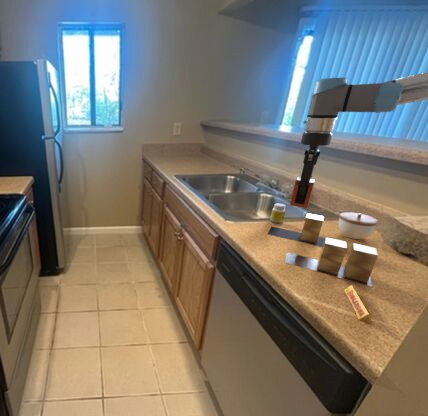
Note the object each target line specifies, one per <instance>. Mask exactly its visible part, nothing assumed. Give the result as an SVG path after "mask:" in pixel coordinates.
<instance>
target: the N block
mask: <svg viewBox="0 0 428 416" xmlns="http://www.w3.org/2000/svg"><path fill="white" fill-rule="evenodd" d="M378 257H379V254H378V250H377V248H376V247H374V246H373V247H372V246H367V245H364V244H358V243H355V242H354V243H352V245H351V248H350V251H349V254H348V257H347V259H346V262H345V265H344V267H345V268H344V275H345V277H348V278H352V279H355V280H359V281H363V282H366V283H367V282H368V280H369V277H370V276H371V274H372V272H373V270H374V267H375V265H376V261H377V259H378Z"/></svg>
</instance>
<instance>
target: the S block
mask: <svg viewBox="0 0 428 416" xmlns="http://www.w3.org/2000/svg"><path fill="white" fill-rule="evenodd" d="M300 179H301V177H299V176H298V177H297V178H296V179H295V181H294V187H293V190H292V195H291V199H290V202H289V206H290V207H291V206H292V207H298V208H303V209H308V207H309V204H310V201H311V197H312V193H313V189H314V186H315V181H316V179H314V178H312V179H310V181H309V188H308V191H307V195H306V199H305V203H304V204H299V203H295V198H296V194H297V190H298V186H299V185H297V183H299V181H300Z"/></svg>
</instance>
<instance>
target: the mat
mask: <svg viewBox="0 0 428 416" xmlns="http://www.w3.org/2000/svg"><path fill="white" fill-rule="evenodd" d="M301 234H302V232H299V231H294V230H289V229H285V228H281V227H278V226H277V227H276V226H272V225H271V226H270V228H269V230H268V232H267V235H269V236H273V237H278V238H281V239H282V238H283V239H286V240H290V241H294V242H300V243H303V244H308V245H312V246H317V247H320V248H322V247H323V244H324V241H325V238H326V237H323V236H319V237H318V240H317V243H313V242H309V241H304V240H300V237H301Z"/></svg>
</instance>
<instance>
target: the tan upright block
mask: <svg viewBox="0 0 428 416" xmlns="http://www.w3.org/2000/svg"><path fill="white" fill-rule="evenodd" d="M324 238H325V241H324V244H323V247H321V251H320V253H319V257H318V259H317V260H318V266H317V269H319V270H323V271H326V272H330V273H333V274H337V275H338V273H339V270H340V267H341V266H342V264H343V261H344V258H345V256H346V253H347V250H348V243H347V241H344V240H341V239H335V238H331V237H326V236H325V237H324Z"/></svg>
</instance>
